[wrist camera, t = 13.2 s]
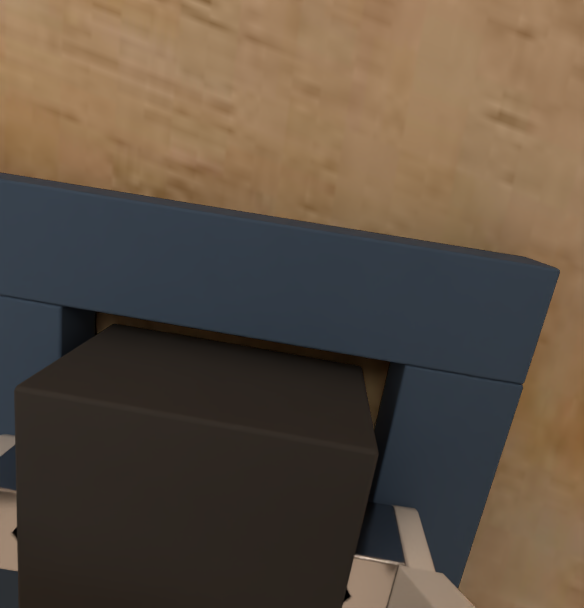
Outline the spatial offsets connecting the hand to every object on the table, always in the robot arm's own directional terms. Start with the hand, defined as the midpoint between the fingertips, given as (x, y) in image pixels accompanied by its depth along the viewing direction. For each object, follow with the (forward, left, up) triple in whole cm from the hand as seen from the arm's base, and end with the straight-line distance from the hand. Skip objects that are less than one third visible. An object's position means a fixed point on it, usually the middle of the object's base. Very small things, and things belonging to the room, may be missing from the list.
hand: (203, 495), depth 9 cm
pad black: (0, 0, -2) cm, 2 cm away
